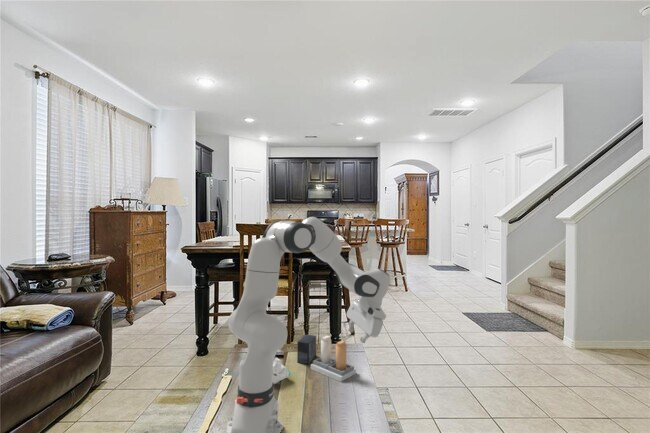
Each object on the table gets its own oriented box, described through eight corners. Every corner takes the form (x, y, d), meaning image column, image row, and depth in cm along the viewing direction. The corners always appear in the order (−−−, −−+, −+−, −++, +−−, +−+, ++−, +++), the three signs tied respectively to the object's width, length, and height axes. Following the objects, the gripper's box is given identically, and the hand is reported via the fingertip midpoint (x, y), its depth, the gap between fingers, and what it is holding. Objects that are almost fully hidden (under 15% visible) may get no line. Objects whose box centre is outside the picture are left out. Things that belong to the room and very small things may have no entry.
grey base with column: (356, 373, 160) (356, 341, 159) (340, 381, 151) (341, 348, 151) (326, 361, 171) (326, 331, 171) (310, 368, 163) (311, 337, 163)
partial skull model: (285, 380, 145) (270, 362, 147) (271, 394, 146) (256, 376, 148) (295, 368, 157) (280, 352, 158) (282, 381, 158) (268, 364, 160)
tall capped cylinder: (348, 369, 159) (348, 341, 158) (341, 373, 155) (341, 344, 155) (340, 366, 162) (340, 339, 162) (333, 369, 158) (333, 342, 158)
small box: (304, 354, 180) (304, 333, 180) (316, 356, 178) (316, 335, 178) (296, 362, 170) (296, 341, 170) (309, 364, 168) (309, 342, 168)
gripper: (350, 295, 156) (338, 324, 156) (377, 314, 138) (363, 347, 138) (361, 298, 159) (349, 327, 159) (388, 318, 141) (375, 350, 141)
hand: (356, 336), depth 148 cm, fingers open, 8 cm apart
